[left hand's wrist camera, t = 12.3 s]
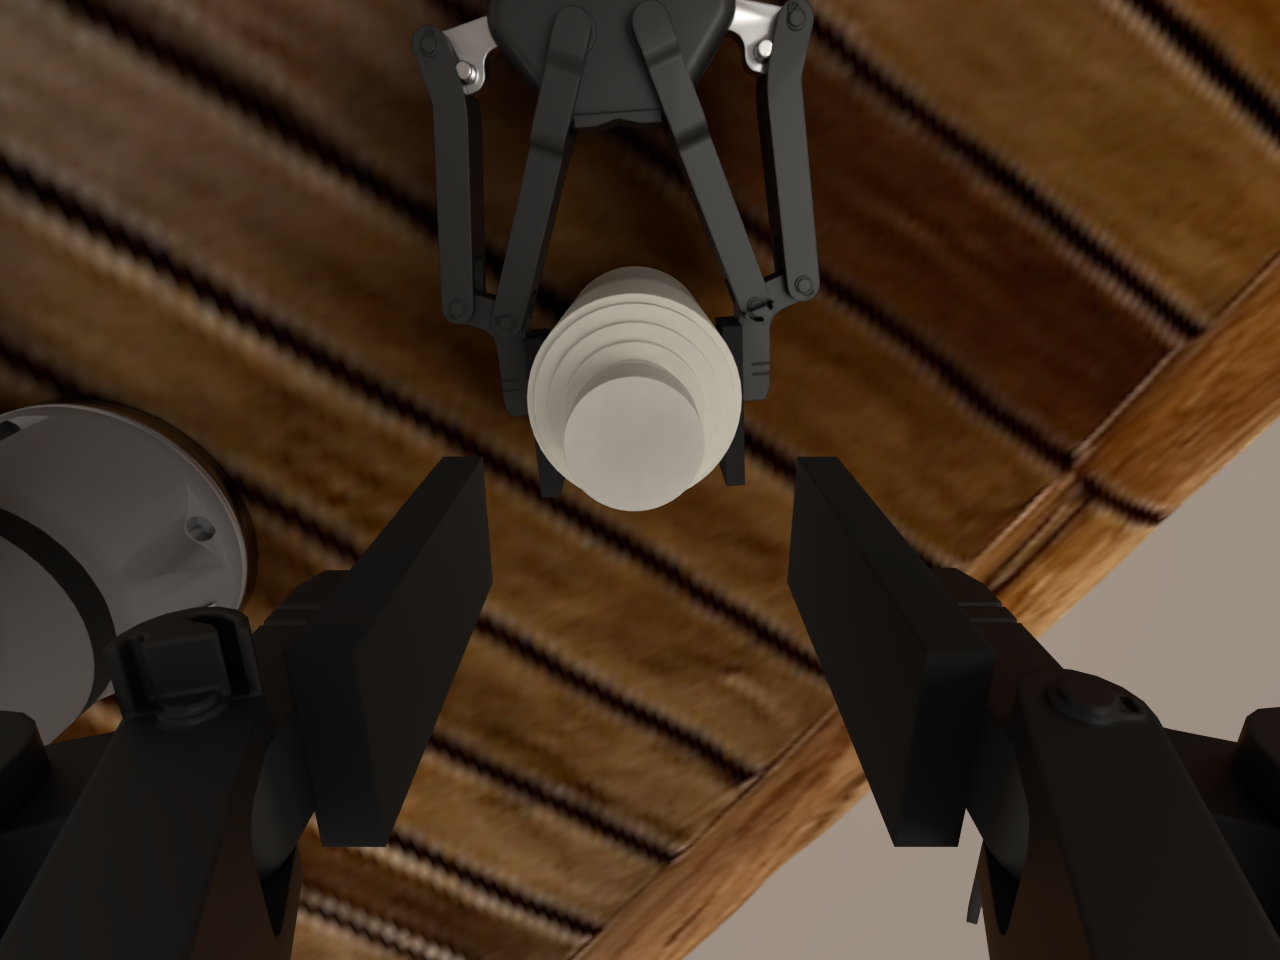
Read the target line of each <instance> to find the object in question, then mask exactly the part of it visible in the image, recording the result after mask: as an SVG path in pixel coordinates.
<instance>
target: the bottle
mask: <svg viewBox="0 0 1280 960" xmlns="http://www.w3.org/2000/svg"><path fill="white" fill-rule="evenodd" d="M623 363H645V364H650V365H654V366H657V367H659V368H662V369H664V370H666V371H667V372H669V373H671V374H672V375H674V376H675V377H676V378H677V379H679V380H680V381H681V382H682V383H683V384H684V386H685V387H686V388H687V390H688V391H689V393H690V394H691V396H692V398H693V400H694V402H695V405H696V408H697V411H698V414H699V417H700V420H701V424H702V428H703V432H704V440H705V446H704V455H703V460H702V463H701V466H700V469H699V471H698V473H697V475H696V477H695V478H694V480H693V481H692V483H691V484H690V485H689V486H688V488H690V487H692V486H693V485H695V484H696V483H698V482H699V481H700V480H702V479H703V478H704V477H705V476H706V475H708V474H709V473H710V472H711V471H712V470H713V469H714V468H715V466H716V465H717V464H718V463H719V462H720V461H721V459H722V458H723V456H724V455H725V453H726V452H727V450H728V449H729V447H730V444H731V442H732V440H733V438H734V436H735V433H736V430H737V427H738V424H739V419H740V413H741V403H742V392H741V382H740V377H739V373H738V369H737V366H736V363H735V360H734V358H733V355H732V353H731V352H730V350H729V348H728V346H727V344H726V342H725V341H724V340H723V338H722V337H721V335H720V334H719V333H718V331H717V330H716V328H715V327H714V326H713V324H712V323H711V321H710V320H709V319H708V317H707V316H706V314H705V313H704V311H703V310H702V309H701V307H700V306H699V304H698V303H697V302H696V300H695V299H694V297H693V296H692V295H691V293H690V292H689V291H688V290H687V289H686V288H685V287H684V286H683V285H682V284H681V283H680V282H679V281H677V280H676V279H675V278H673V277H672V276H670V275H668V274H666V273H664V272H662V271H659V270H656V269H653V268H649V267H642V266H629V267H622V268H618V269H614V270H611V271H609V272H606V273H604V274H602V275H600V276H599V277H597V278H596V279H594V280H593V281H592V282H590V283H589V284H588V285H587V286H586V287H585V288H584V289H583V290H582V291H581V293H580V294H579V295H578V296H577V298H576V299H575V300H574V302H573V303H572V304H571V306H570V307H569V308H568V310H567V311H566V312H565V314H564V315H563V316H562V318H561V319H560V320H559V322H558V323H557V324H556V326H555V327H554V328H553V330H552V331H551V332H550V334H549V335H548V337H547V338H546V339H545V341H544V342H543V344H542V345H541V347H540V349H539V351H538V353H537V355H536V357H535V360H534V363H533V365H532V368H531V372H530V377H529V381H528V392H527V404H528V414H529V419H530V424H531V427H532V430H533V433H534V436H535V438H536V440H537V442H538V444H539V446H540V448H541V450H542V451H543V453H544V455H545V456H546V458H547V459H548V460H549V462H550V463H551V464H552V465H553V466H554V467H555V469H556V470H557V471H558V472H559V473H561V474H562V475H563V476H564V477H565V478H566V479H567V480H569V481H570V482H572V483H573V484H575V485H576V486H577V487H579V488H580V486H579V485H578V484H577V483H576V481H575V480H574V478H573V477H572V475H571V473H570V471H569V469H568V466H567V463H566V460H565V455H564V447H563V439H564V431H565V427H566V423H567V420H568V417H569V415H570V412H571V409H572V406H573V403H574V401H575V398H576V397H577V395H578V393H579V391H580V390H581V389H582V387H583V386H584V385H585V384H586V383H587V382H588V381H589V380H590V379H591V378H592V377H593V376H595V375H596V374H597V373H599V372H601V371H603V370H604V369H607V368H609V367H611V366H615V365H618V364H623ZM688 488H687V489H688Z"/></svg>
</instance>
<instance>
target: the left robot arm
mask: <svg viewBox="0 0 1280 960" xmlns="http://www.w3.org/2000/svg"><path fill="white" fill-rule="evenodd" d="M257 559H258V555H257V544H256V539H255V534H254V529H253V526H252V523H251V519H250V517H249V514H248V512H247V510H246V507H245V505H244V503H243V501H242V499H241V497H240V495H239V493H238V492H237V490H236V489H235V487H234V486H233V484H232V483H231V481H230V480H229V478H228V477H227V476H226V474H225V473H224V472H223V471H222V469H221V468H220V467H219V466H218V465H217V464H216V463H215V462H214V460H213V459H212V458H211V457H210V456H209V455H208V454H207V453H205V452H204V451H203V450H202V449H201V448H200V447H199V446H198V445H196V444H195V443H194V442H193V441H191V440H190V439H189V438H188V437H186V436H185V435H183V434H182V433H180V432H179V431H177V430H176V429H174V428H173V427H171V426H169V425H168V424H166V423H164V422H162V421H161V420H159V419H157V418H154V417H152V416H150V415H148V414H146V413H143V412H141V411H138V410H135V409H133V408H130V407H127V406H123V405H120V404H116V403H112V402H107V401H101V400H94V399H84V398H66V399H55V400H49V401H44V402H40V403H36V404H33V405H30V406H27V407H23V408H20V409H17V410H14V411H10V412H7V413H4V414H2V415H0V960H290V959H291V952H292V945H293V938H294V931H295V924H296V918H297V911H298V904H299V897H300V890H301V883H302V876H303V870H302V862H301V856H300V851H299V847H298V840H299V838H300V836H301V834H302V833H303V831H304V829H305V827H306V825H307V823H308V822H309V820H310V818H311V816H312V814H313V812H314V811H315V814H316V819H317V824H318V829H319V834H320V838H321V843H322V847H386V844H387V842H388V839H389V837H390V835H391V832H392V830H393V827H394V825H395V822H396V820H397V817H398V815H399V812H400V810H401V807H402V805H403V802H404V800H405V797H406V795H407V793H408V790H409V788H410V785H411V783H412V780H413V778H414V775H415V773H416V770H417V768H418V765H419V763H420V760H421V758H422V755H423V753H424V751H425V748H426V746H427V743H428V741H429V738H430V736H431V733H432V731H433V728H434V726H435V723H436V721H437V718H438V716H439V713H440V711H441V709H442V706H443V704H444V701H445V699H446V696H447V694H448V691H449V689H450V686H451V684H452V681H453V679H454V676H455V674H456V671H457V669H458V667H459V664H460V662H461V659H462V657H463V654H464V652H465V649H466V647H467V644H468V642H469V639H470V637H471V634H472V632H473V629H474V627H475V625H476V622H477V620H478V617H479V615H480V612H481V610H482V607H483V605H484V602H485V600H486V597H487V595H488V592H489V590H490V587H491V585H492V583H493V580H492V568H491V555H490V543H489V531H488V518H487V506H486V494H485V481H484V469H483V457H443V458H442V459H441V460H440V461H439V463H438V464H437V465H436V466H435V467H434V469H433V470H432V471H431V472H430V473H429V475H428V476H427V477H426V478H425V480H424V481H423V482H422V483H421V484H420V486H419V487H418V488H417V489H416V490H415V492H414V493H413V494H412V495H411V497H410V498H409V499H408V500H407V501H406V503H405V504H404V505H403V506H402V507H401V509H400V510H399V511H398V512H397V513H396V515H395V516H394V517H393V518H392V520H391V521H390V522H389V523H388V524H387V526H386V527H385V528H384V529H383V530H382V532H381V533H380V534H379V535H378V537H377V538H376V539H375V540H374V541H373V543H372V544H371V545H370V546H369V547H368V549H367V550H366V551H365V552H364V554H363V555H362V556H361V557H360V558H359V560H358V561H357V562H356V563H355V564H354V566H353V567H352V568H351V569H350V570H325V571H323V572H321V573H320V574H318V575H316V576H314V577H313V578H311V579H309V580H307V581H306V582H304V583H302V584H300V585H299V586H297V587H296V588H295V589H294V590H293V591H292V592H291V593H290V594H289V595H288V596H287V597H286V598H285V600H284V601H283V602H282V603H281V604H280V605H279V609H278V610H274V611H273V612H272V613H271V615H270V616H269V617H268V618H267V619H266V620H265V621H264V626H259V627H258V629H257V630H256V631H255V632H254V633H253V634H251V629H250V625H249V620H248V617H247V616H246V615H244V614H243V613H242V611H243V610H244V608H245V606H246V604H247V603H248V601H249V598H250V596H251V593H252V591H253V587H254V584H255V580H256V573H257ZM787 583H788V585H789V587H790V590H791V592H792V595H793V597H794V600H795V602H796V605H797V607H798V610H799V612H800V615H801V617H802V620H803V622H804V625H805V627H806V629H807V632H808V634H809V637H810V639H811V642H812V644H813V647H814V649H815V652H816V654H817V657H818V659H819V662H820V664H821V667H822V669H823V671H824V674H825V676H826V679H827V681H828V684H829V686H830V689H831V691H832V694H833V696H834V699H835V701H836V704H837V706H838V709H839V711H840V713H841V716H842V718H843V721H844V723H845V726H846V728H847V731H848V733H849V736H850V738H851V741H852V743H853V746H854V748H855V751H856V753H857V755H858V758H859V760H860V763H861V765H862V768H863V770H864V773H865V775H866V778H867V780H868V783H869V785H870V788H871V790H872V793H873V795H874V797H875V800H876V802H877V805H878V807H879V810H880V812H881V815H882V817H883V820H884V822H885V825H886V827H887V829H888V832H889V834H890V837H891V839H892V842H893V844H894V847H958V843H959V838H960V833H961V829H962V824H963V819H964V814H965V809H967V811H968V812H969V814H970V816H971V818H972V820H973V821H974V823H975V825H976V827H977V829H978V830H979V832H980V834H981V836H982V838H983V842H982V847H981V851H980V856H979V861H978V865H977V870H976V874H975V879H974V883H973V888H972V892H971V897H970V901H969V906H968V914H967V922H970V923H973V924H977V922H978V917H979V913H980V909H981V907H982V909H983V916H984V923H985V929H986V936H987V943H988V950H989V957H990V960H1280V707H1274V708H1264V709H1257V710H1256V711H1254V712H1253V713H1251V714H1250V715H1249V716H1247V717H1246V720H1245V722H1244V725H1243V728H1242V731H1241V733H1240V736H1239V739H1238V742H1233V741H1228V740H1222V739H1217V738H1212V737H1207V736H1202V735H1197V734H1192V733H1187V732H1182V731H1177V730H1171V729H1168V728H1164V727H1162V725H1161V723H1160V721H1159V719H1158V718H1157V716H1156V715H1155V714H1154V713H1153V712H1152V710H1151V709H1150V708H1149V707H1148V706H1147V705H1146V704H1145V702H1144V701H1142V700H1141V699H1139V698H1138V697H1136V696H1135V695H1133V694H1132V693H1130V692H1129V691H1127V690H1126V689H1124V688H1123V687H1121V686H1118V685H1116V684H1114V683H1112V682H1109V681H1107V680H1105V679H1102V678H1100V677H1098V676H1094V675H1091V674H1087V673H1083V672H1079V671H1075V670H1070V669H1063V668H1062V667H1061V666H1060V665H1059V664H1058V662H1057V661H1056V660H1055V659H1054V658H1053V657H1052V656H1051V655H1050V654H1049V653H1048V652H1047V651H1046V650H1045V649H1044V648H1043V647H1042V645H1041V644H1040V643H1039V642H1038V641H1037V640H1036V639H1035V638H1034V637H1033V636H1032V635H1031V634H1030V633H1029V632H1028V631H1027V629H1026V628H1025V627H1024V626H1023V625H1022V624H1021V623H1017V619H1016V618H1015V617H1014V616H1013V615H1012V613H1011V612H1010V611H1009V610H1008V609H1007V608H1006V607H1002V603H1001V602H1000V601H999V600H998V599H997V598H996V596H995V595H994V594H993V593H992V592H991V591H990V590H989V589H988V588H987V587H986V586H985V585H984V584H983V583H981V582H979V581H977V580H976V579H974V578H972V577H970V576H969V575H967V574H965V573H963V572H962V571H960V570H958V569H956V568H928V567H927V566H926V564H925V563H924V562H923V561H922V560H921V558H920V557H919V556H918V555H917V554H916V552H915V551H914V550H913V549H912V547H911V546H910V545H909V544H908V543H907V541H906V540H905V539H904V538H903V537H902V535H901V534H900V533H899V532H898V530H897V529H896V528H895V527H894V526H893V524H892V523H891V522H890V521H889V520H888V518H887V517H886V516H885V515H884V513H883V512H882V511H881V510H880V509H879V507H878V506H877V505H876V504H875V503H874V501H873V500H872V499H871V498H870V497H869V495H868V494H867V493H866V492H865V490H864V489H863V488H862V487H861V486H860V484H859V483H858V482H857V481H856V480H855V478H854V477H853V476H852V475H851V473H850V472H849V471H848V470H847V469H846V467H845V466H844V465H843V464H842V463H841V461H840V460H839V459H838V458H837V457H797V469H796V481H795V494H794V506H793V518H792V531H791V543H790V555H789V568H788V580H787ZM114 693H115V694H116V697H117V701H118V704H119V707H120V710H121V714H122V717H123V719H122V721H121V722H120V724H119V726H118V728H117V730H116V731H114V732H110V733H105V734H100V735H95V736H90V737H85V738H80V739H75V740H70V741H65V742H60V743H55V744H50V743H51V742H52V741H53V740H54V739H55V738H57V737H58V736H59V735H60V734H61V733H62V732H63V731H64V730H65V729H66V728H67V727H68V726H69V725H71V724H72V723H73V722H74V721H75V720H76V719H77V718H78V717H79V716H80V715H81V714H82V713H84V712H85V711H86V710H87V709H88V708H89V707H90V706H92V705H93V704H94V703H95V702H96V701H98V700H100V699H102V698H104V697H107V696H109V695H111V694H114ZM49 744H50V745H49Z"/></svg>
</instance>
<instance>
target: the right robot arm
mask: <svg viewBox="0 0 1280 960" xmlns="http://www.w3.org/2000/svg"><path fill="white" fill-rule="evenodd" d="M813 23H814V12H813V9H812V6H811V5H810V4H809V3H808V1H806V0H789V1H787V2H786V3H785V4H784V5H783V6H776V5H771V4H766V3H761V2H756V1H751V0H489V3H488V8H487V16H484V17H481V18H478V19H476V20H473V21H470V22H467V23H465V24H462V25H459V26H456V27H454V28H451V29H448V30H445V31H440V30H439V29H438V28H437V27H435V26H432V25H423V26H421V27H420V28H418V29H417V30H416V31H415V33H414V35H413V38H412V48H413V52H414V55H415V58H416V61H417V63H418V66H419V69H420V72H421V74H422V77H423V80H424V83H425V85H426V88H427V91H428V94H429V96H430V99H431V102H432V105H433V128H434V151H435V173H436V196H437V218H438V241H439V264H440V286H441V308H442V312H443V315H444V316H445V318H446V319H447V320H449V321H450V322H451V323H455V324H466V325H470V326H473V327H477V328H480V329H483V330H485V331H487V332H488V333H489V334H490V335H491V336H492V337H493V338H494V340H495V342H496V346H497V352H498V360H499V367H500V375H501V380H502V389H503V397H504V404H505V406H506V408H507V410H508V412H509V414H510V415H511V416H523V415H529V414H528V404H527V392H528V381H529V377H530V372H531V368H532V365H533V363H534V360H535V357H536V355H537V353H538V351H539V349H540V347H541V345H542V344H543V342H544V341H545V339H546V338H547V337H548V335H549V334H550V332H551V329H550V328H549V329H534V330H532V331H531V325H530V322H531V321H532V318H533V316H532V313H533V308H534V304H535V300H536V296H537V292H538V288H539V284H540V280H541V275H542V271H543V267H544V263H545V259H546V255H547V251H548V247H549V242H550V238H551V234H552V230H553V226H554V222H555V218H556V214H557V210H558V205H559V201H560V197H561V193H562V189H563V185H564V181H565V177H566V172H567V168H568V164H569V161H570V159H571V156H572V153H573V149H574V145H575V141H576V137H577V133H578V134H590V133H600V132H603V131H605V130H608V129H611V128H613V127H616V126H619V125H621V126H625V127H630V128H634V129H639V130H646V129H660V128H661V126H662V127H663V129H664V132H665V134H666V137H667V140H668V142H669V144H670V147H671V149H672V151H673V153H674V155H675V157H676V160H677V162H678V165H679V167H680V170H681V173H682V175H683V178H684V180H685V183H686V185H687V188H688V190H689V193H690V196H691V198H692V201H693V203H694V206H695V208H696V211H697V213H698V216H699V218H700V221H701V224H702V226H703V229H704V231H705V234H706V236H707V239H708V241H709V244H710V247H711V249H712V252H713V254H714V257H715V259H716V262H717V264H718V267H719V270H720V272H721V275H722V277H723V280H724V282H725V285H726V287H727V290H728V293H729V295H730V298H731V300H732V303H733V305H734V316H731V317H716V318H715V321H716V330H717V331H718V333H719V334H720V335H721V337H722V338H723V340H724V341H725V342H726V344H727V346H728V348H729V350H730V352H731V353H732V355H733V358H734V360H735V363H736V366H737V369H738V373H739V377H740V382H741V392H742V403H741V413H740V419H739V424H738V427H737V430H736V433H735V436H734V438H733V440H732V442H731V444H730V447H729V449H728V450H727V452H726V453H725V455H724V456H723V458H722V459H721V461H720V462H719V465H720V468H721V471H722V474H723V477H724V480H725V483H726V486H738V485H745V468H744V401H755V400H765V399H766V396H767V393H768V391H769V388H770V324H771V321H772V319H773V317H774V316H775V315H776V314H777V313H778V312H779V311H780V310H782V309H784V308H786V307H788V306H791V305H793V304H795V303H797V302H800V301H807V300H810V299H812V298H813V297H814V296H815V295H816V294H817V292H818V290H819V286H820V278H819V267H818V256H817V245H816V234H815V223H814V212H813V201H812V190H811V179H810V168H809V157H808V146H807V135H806V124H805V113H804V102H803V91H802V80H801V77H802V73H803V68H804V64H805V59H806V54H807V50H808V45H809V41H810V36H811V32H812V27H813ZM725 36H727V37H730V38H732V39H734V40H735V41H736V42H737V44H738V45H739V47H740V50H741V60H742V66H743V68H744V70H745V71H746V73H748V74H749V75H750V76H753V77H757V78H758V79H757V92H756V101H757V115H758V124H759V133H760V142H761V151H762V160H763V169H764V178H765V187H766V196H767V205H768V214H769V223H770V231H771V240H772V249H773V258H774V267H775V273H773V274H771V275H768V276H766V277H764V278H763V276H762V273H761V271H760V268H759V265H758V263H757V260H756V257H755V255H754V252H753V249H752V246H751V244H750V241H749V238H748V236H747V233H746V230H745V228H744V225H743V222H742V220H741V217H740V214H739V212H738V209H737V206H736V204H735V201H734V198H733V195H732V193H731V190H730V187H729V185H728V182H727V179H726V177H725V174H724V171H723V169H722V166H721V163H720V161H719V158H718V155H717V153H716V150H715V147H714V144H713V142H712V139H711V136H710V133H709V128H708V124H707V121H706V118H705V115H704V112H703V110H702V107H701V104H700V101H699V99H698V96H697V93H696V91H695V88H696V86H697V84H698V83H699V81H700V79H701V78H702V76H703V74H704V72H705V71H706V69H707V67H708V66H709V64H710V62H711V60H712V59H713V57H714V55H715V54H716V52H717V50H718V48H719V47H720V45H721V43H722V42H723V40H724V38H725ZM500 53H503V54H504V55H505V57H506V58H507V59H508V60H509V62H510V63H511V64H512V66H513V67H514V68H515V69H516V71H517V72H518V73H519V75H520V76H521V77H522V78H523V80H524V81H525V82H526V84H527V85H528V86H529V87H530V89H531V90H532V91H533V93H534V94H535V95H536V96H537V98H538V101H537V106H536V110H535V115H534V119H533V124H532V128H531V133H530V146H529V152H528V157H527V161H526V166H525V170H524V175H523V179H522V183H521V188H520V192H519V197H518V201H517V206H516V210H515V215H514V219H513V224H512V228H511V233H510V237H509V242H508V246H507V251H506V255H505V260H504V264H503V268H502V273H501V277H500V282H499V286H498V291H497V295H494V294H490V293H487V292H486V282H485V238H484V194H483V151H482V123H481V114H480V108H479V103H478V99H477V97H480V96H482V95H484V94H485V92H486V91H487V90H488V88H489V85H490V73H489V68H490V64H491V62H492V59H493V58H494V57H495V56H496V55H498V54H500ZM534 437H535V436H534ZM535 446H536V454H537V462H538V470H539V479H540V487H541V495H542V498H543V497H559V496H560V494H561V490H562V487H563V483H564V479H565V477H564V476H563V475H562V474H561V473H559V472H558V471H557V470H556V469H555V467H554V466H553V465H552V464H551V463H550V462H549V460H548V459H547V458H546V456H545V455H544V453H543V451H542V450H541V448H540V446H539V444H538V442H537V440H536V438H535Z"/></svg>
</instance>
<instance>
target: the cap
mask: <svg viewBox="0 0 1280 960" xmlns="http://www.w3.org/2000/svg"><path fill="white" fill-rule="evenodd" d="M704 446H705V440H704V432H703V428H702V424H701V420H700V417H699V414H698V411H697V408H696V405H695V402H694V400H693V398H692V396H691V394H690V393H689V391H688V390H687V388H686V387H685V386H684V384H683V383H682V382H681V381H680V380H679V379H677V378H676V377H675V376H674V375H672V374H671V373H669V372H667V371H666V370H664V369H662V368H659V367H657V366H654V365H650V364H645V363H623V364H618V365H615V366H611V367H609V368H607V369H604V370H603V371H601V372H599V373H597V374H596V375H595V376H593V377H592V378H591V379H590V380H589V381H588V382H587V383H586V384H585V385H584V386H583V387H582V389H581V390H580V391H579V393H578V395H577V397H576V398H575V401H574V403H573V406H572V409H571V412H570V415H569V417H568V420H567V423H566V427H565V431H564V439H563V447H564V455H565V460H566V463H567V466H568V469H569V471H570V473H571V475H572V477H573V478H574V480H575V481H576V483H577V484H578V485H579V486H580V488H581V489H582V490H583V491H584V492H585V493H587V494H588V495H589V496H590V497H592V498H593V499H595V500H596V501H598V502H600V503H602V504H604V505H606V506H609V507H611V508H615V509H619V510H625V511H643V510H649V509H653V508H657V507H659V506H662V505H665V504H667V503H668V502H670V501H672V500H674V499H675V498H676V497H678V496H679V495H680V494H682V493H683V492H684V491H685V490H686V489H687V488H688V486H689V485H690V484H691V483H692V481H693V480H694V478H695V477H696V475H697V473H698V471H699V469H700V466H701V463H702V460H703V455H704Z"/></svg>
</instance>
